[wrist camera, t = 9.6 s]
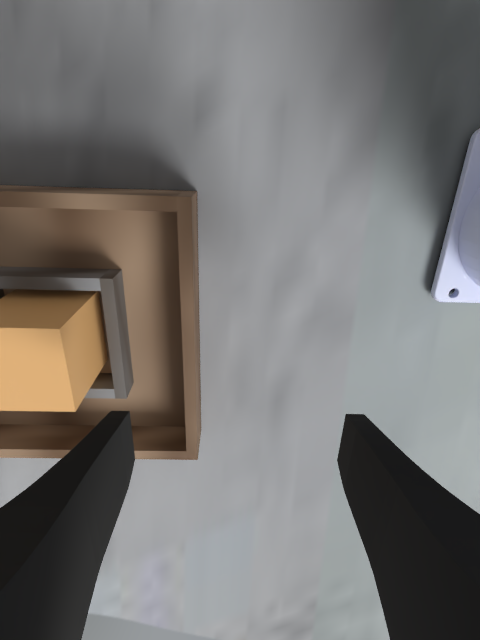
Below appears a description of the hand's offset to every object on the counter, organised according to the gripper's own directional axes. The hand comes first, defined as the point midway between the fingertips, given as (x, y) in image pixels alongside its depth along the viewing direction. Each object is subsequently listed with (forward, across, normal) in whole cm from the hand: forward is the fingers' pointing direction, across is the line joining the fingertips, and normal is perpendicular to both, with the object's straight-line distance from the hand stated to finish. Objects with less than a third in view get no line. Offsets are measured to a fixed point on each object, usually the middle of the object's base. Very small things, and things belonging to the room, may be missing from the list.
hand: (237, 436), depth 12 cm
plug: (+8, +9, 0) cm, 12 cm away
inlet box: (+8, +9, 0) cm, 12 cm away
